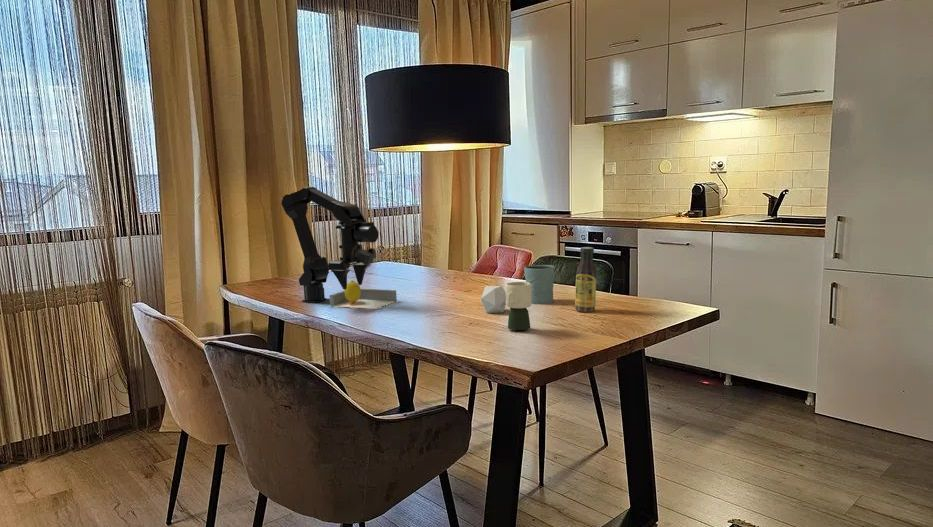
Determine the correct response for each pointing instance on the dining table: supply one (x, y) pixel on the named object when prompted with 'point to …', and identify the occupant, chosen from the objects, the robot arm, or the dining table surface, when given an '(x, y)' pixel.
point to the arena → (365, 299)
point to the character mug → (518, 304)
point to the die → (494, 299)
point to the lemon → (352, 292)
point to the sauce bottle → (585, 282)
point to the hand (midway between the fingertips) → (352, 287)
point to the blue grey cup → (540, 283)
